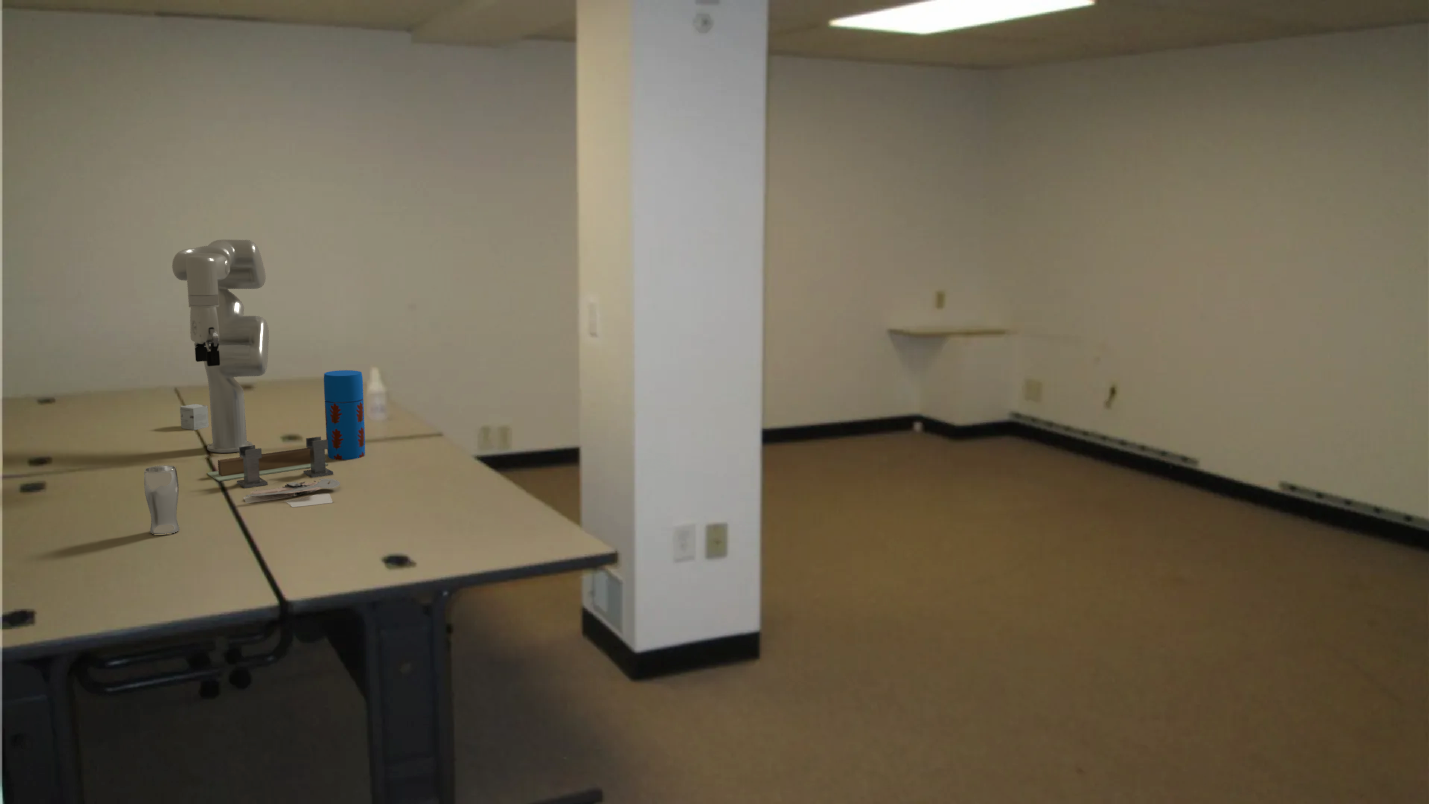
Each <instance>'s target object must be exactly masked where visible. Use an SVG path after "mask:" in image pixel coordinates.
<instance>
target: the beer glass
mask: <svg viewBox="0 0 1429 804" xmlns="http://www.w3.org/2000/svg"><path fill="white" fill-rule="evenodd" d="M143 471H144V473H143V474H144V476H143V480H144V481H143V485H144V486H143V488H144V495H145V499H146V503H147V506H148V510H149V513H150V520H151V521H150V529H149V533H153V534H165V533H166V534H167V533H174V534H176V533H175V532H177V531H179V532H180V530H181V529H180V526H179V522H178V517H177V513H178V512H177V511H178V503H179V502H178V501H179V491H180V489H179V488H180V487H179V485H180V484H179V479H178V478H179V477H178V471H177V466H175V465H172V464H171V465H169V464H161V465H153V466H148V467H146V468H144V470H143ZM177 533H178V532H177Z"/></svg>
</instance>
